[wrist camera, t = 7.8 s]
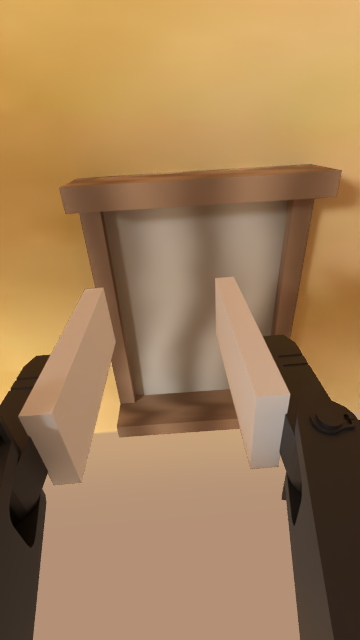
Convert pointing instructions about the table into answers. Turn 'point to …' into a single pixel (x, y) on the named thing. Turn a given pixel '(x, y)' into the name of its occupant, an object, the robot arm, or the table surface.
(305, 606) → the robot arm
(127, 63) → the table surface
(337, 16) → the table surface
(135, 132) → the table surface
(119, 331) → the wooden window with sill
